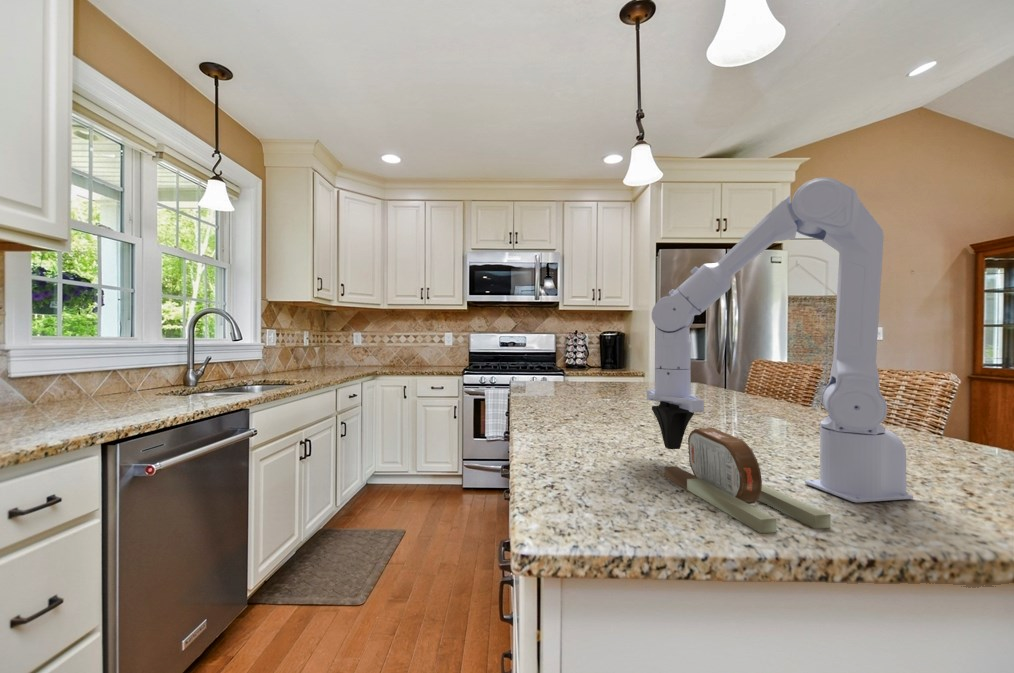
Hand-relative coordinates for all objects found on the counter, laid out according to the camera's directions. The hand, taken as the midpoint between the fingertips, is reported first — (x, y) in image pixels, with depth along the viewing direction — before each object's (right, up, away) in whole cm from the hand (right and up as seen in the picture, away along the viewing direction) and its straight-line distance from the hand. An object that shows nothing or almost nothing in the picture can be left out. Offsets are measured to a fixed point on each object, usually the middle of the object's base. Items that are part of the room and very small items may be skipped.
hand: (672, 448), depth 73 cm
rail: (+3, -3, -15) cm, 16 cm away
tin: (+2, -3, -13) cm, 13 cm away
